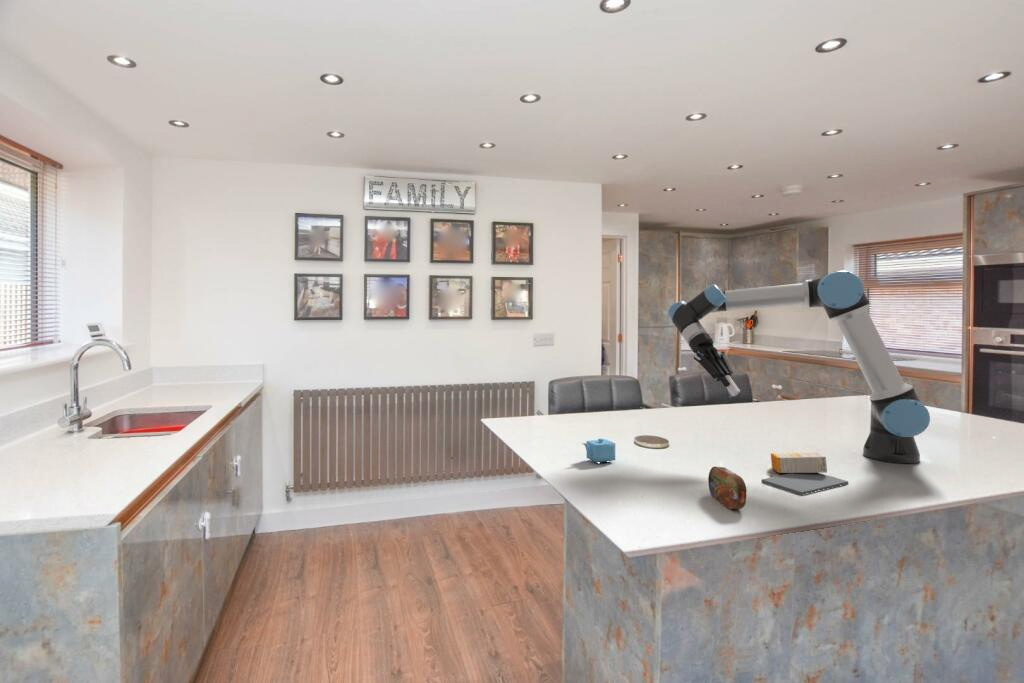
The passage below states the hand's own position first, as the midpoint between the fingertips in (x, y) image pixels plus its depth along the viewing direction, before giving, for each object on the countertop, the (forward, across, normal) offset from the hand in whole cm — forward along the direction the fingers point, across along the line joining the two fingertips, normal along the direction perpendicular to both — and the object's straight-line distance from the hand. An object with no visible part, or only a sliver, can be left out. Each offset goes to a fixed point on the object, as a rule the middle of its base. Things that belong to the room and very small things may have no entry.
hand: (736, 393), depth 166 cm
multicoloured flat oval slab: (+33, +33, +3) cm, 47 cm away
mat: (+33, +1, +2) cm, 33 cm away
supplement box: (+23, -1, -4) cm, 23 cm away
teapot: (+2, +40, -30) cm, 50 cm away
